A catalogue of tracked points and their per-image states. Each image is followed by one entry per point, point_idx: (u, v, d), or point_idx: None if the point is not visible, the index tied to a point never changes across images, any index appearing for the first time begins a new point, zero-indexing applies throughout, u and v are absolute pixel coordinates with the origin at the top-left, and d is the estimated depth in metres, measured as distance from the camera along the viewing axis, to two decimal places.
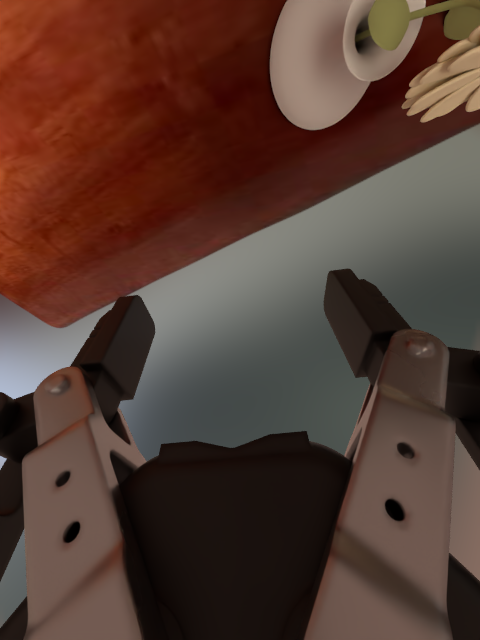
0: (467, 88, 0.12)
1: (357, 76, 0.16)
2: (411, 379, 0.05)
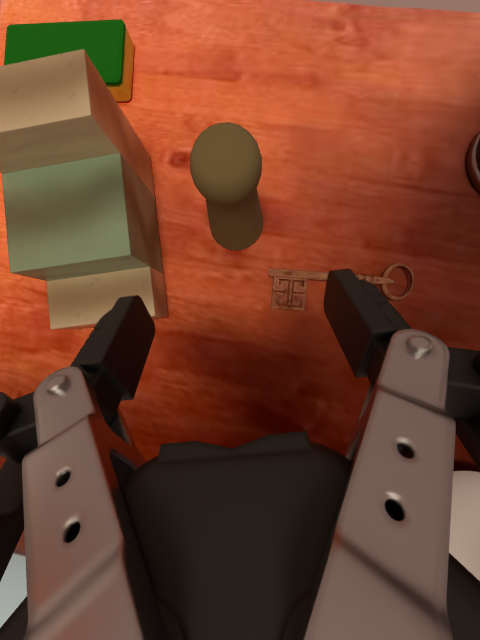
0: None
1: None
2: (411, 379, 0.05)
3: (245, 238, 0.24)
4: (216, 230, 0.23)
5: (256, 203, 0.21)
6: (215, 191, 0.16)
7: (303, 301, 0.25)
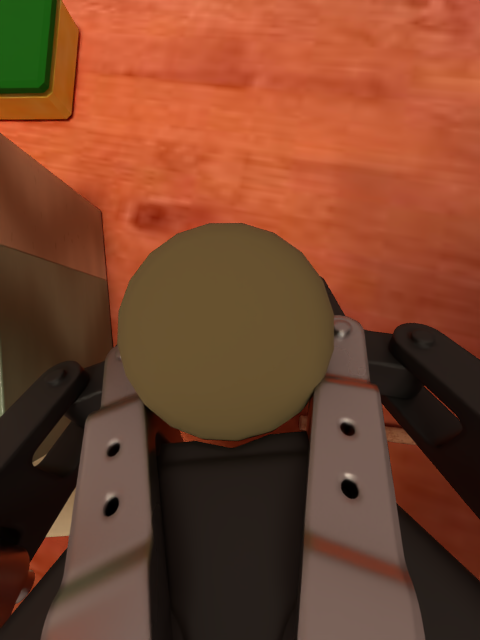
0: None
1: None
2: (340, 360, 0.06)
3: None
4: None
5: None
6: (192, 434, 0.05)
7: None
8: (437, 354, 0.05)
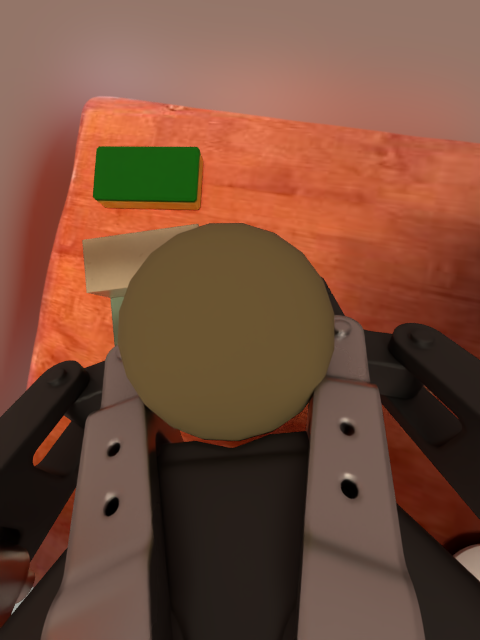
0: None
1: None
2: (340, 360, 0.06)
3: None
4: None
5: None
6: (193, 434, 0.05)
7: None
8: (437, 354, 0.05)
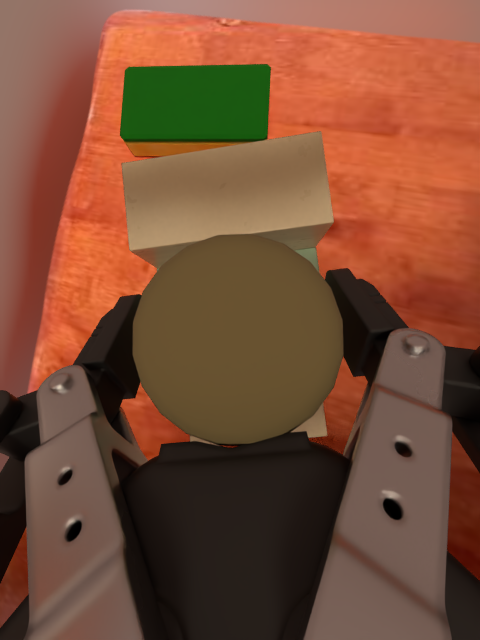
0: None
1: None
2: (408, 378, 0.05)
3: None
4: None
5: None
6: (208, 440, 0.05)
7: None
8: None
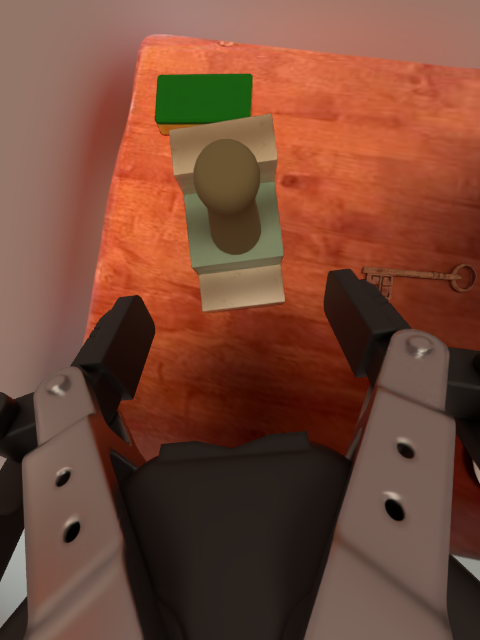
0: None
1: None
2: (411, 379, 0.05)
3: (244, 243, 0.25)
4: (217, 237, 0.24)
5: (255, 211, 0.22)
6: (217, 202, 0.17)
7: (390, 292, 0.32)
8: None
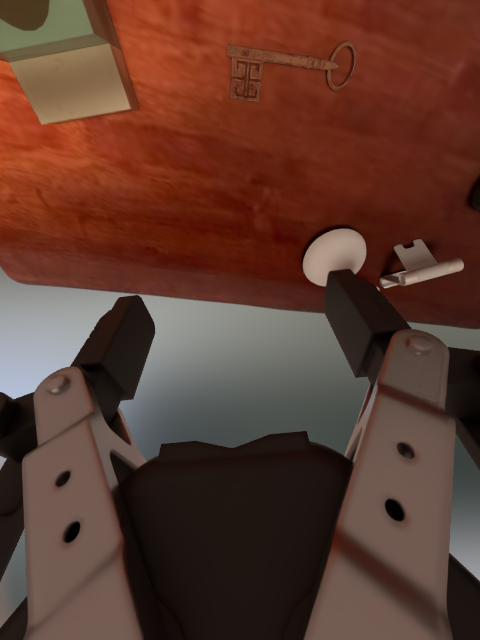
0: None
1: None
2: (411, 379, 0.05)
3: (22, 13, 0.19)
4: None
5: None
6: None
7: (258, 91, 0.28)
8: None
